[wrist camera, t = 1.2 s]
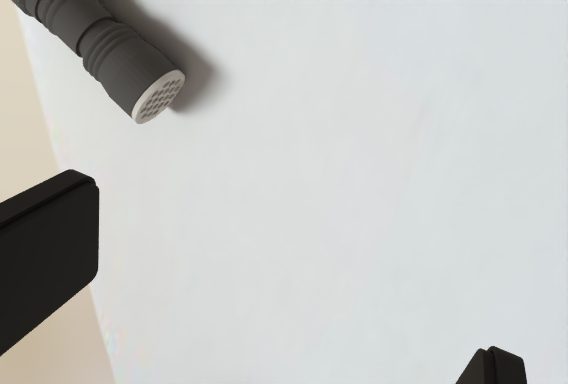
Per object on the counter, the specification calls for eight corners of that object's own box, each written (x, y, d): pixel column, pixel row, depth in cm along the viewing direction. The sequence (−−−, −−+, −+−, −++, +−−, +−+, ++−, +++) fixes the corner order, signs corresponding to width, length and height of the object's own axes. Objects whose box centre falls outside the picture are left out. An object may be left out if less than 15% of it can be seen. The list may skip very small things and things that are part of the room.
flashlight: (36, -9, 39) (-21, -7, 35) (56, -64, 36) (-2, -71, 32) (164, 114, 40) (125, 131, 35) (194, 68, 37) (157, 81, 32)
